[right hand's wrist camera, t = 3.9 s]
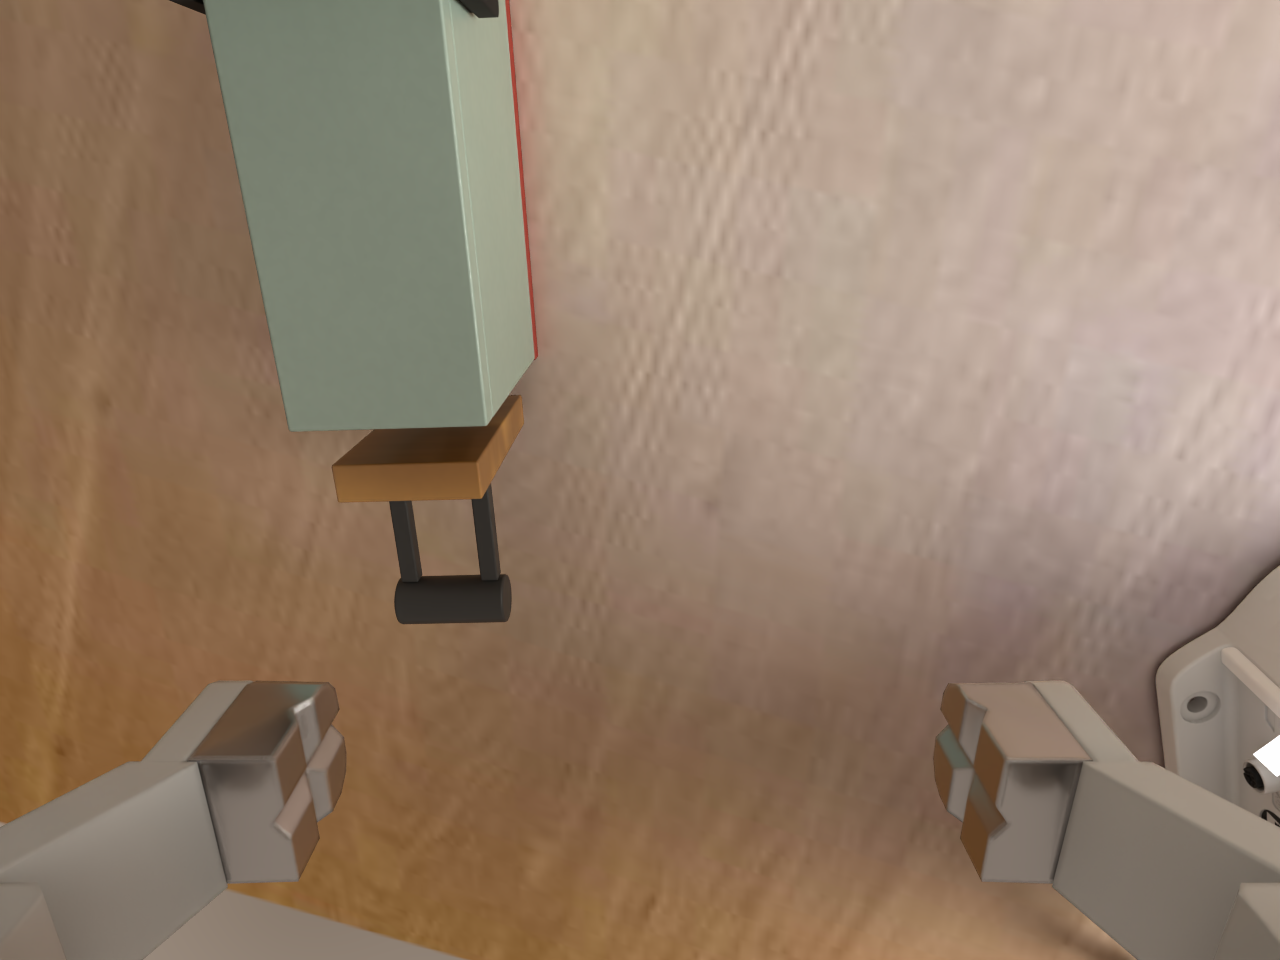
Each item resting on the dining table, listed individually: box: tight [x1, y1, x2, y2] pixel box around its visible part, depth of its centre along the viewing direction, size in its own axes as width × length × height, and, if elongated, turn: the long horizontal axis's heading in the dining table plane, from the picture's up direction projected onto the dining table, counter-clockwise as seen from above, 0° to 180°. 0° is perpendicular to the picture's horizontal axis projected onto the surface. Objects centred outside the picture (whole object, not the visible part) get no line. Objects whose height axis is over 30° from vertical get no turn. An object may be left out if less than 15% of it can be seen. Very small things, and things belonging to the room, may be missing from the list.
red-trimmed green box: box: [203, 0, 538, 432], centre depth 23 cm, size 17×6×10 cm, turn 2°
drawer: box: [332, 395, 524, 624], centre depth 25 cm, size 22×4×8 cm, turn 2°
